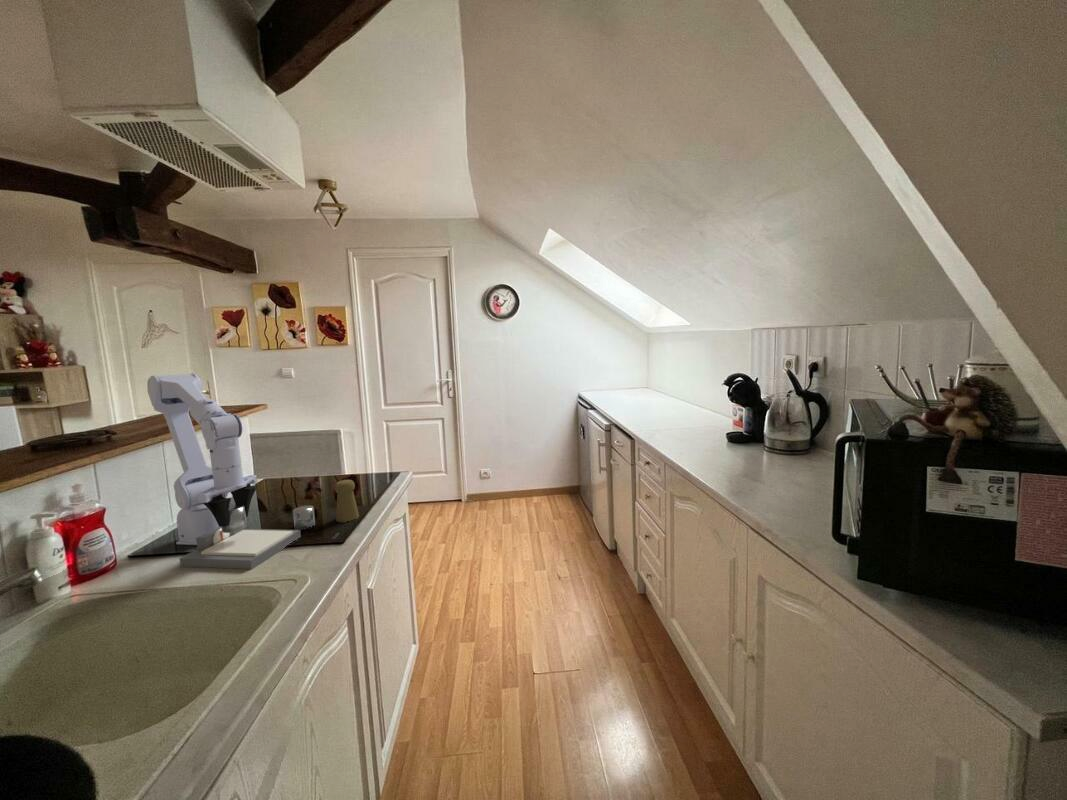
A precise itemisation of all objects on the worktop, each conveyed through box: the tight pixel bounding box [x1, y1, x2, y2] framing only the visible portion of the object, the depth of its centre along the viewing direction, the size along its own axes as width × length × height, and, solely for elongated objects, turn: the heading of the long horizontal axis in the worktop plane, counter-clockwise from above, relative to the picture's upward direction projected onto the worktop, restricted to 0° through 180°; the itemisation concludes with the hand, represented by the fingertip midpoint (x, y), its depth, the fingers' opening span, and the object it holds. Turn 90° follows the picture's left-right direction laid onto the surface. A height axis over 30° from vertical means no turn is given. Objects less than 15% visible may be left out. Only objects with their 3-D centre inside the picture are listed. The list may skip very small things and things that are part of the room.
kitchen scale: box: [179, 527, 302, 570], centre depth 102 cm, size 18×16×6 cm
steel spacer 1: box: [221, 504, 248, 533], centre depth 102 cm, size 5×5×5 cm
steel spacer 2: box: [292, 504, 316, 531], centre depth 116 cm, size 5×5×5 cm
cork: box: [334, 479, 360, 523], centre depth 121 cm, size 6×6×11 cm
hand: (233, 521), depth 102 cm, fingers closed on steel spacer 1, 5 cm apart
